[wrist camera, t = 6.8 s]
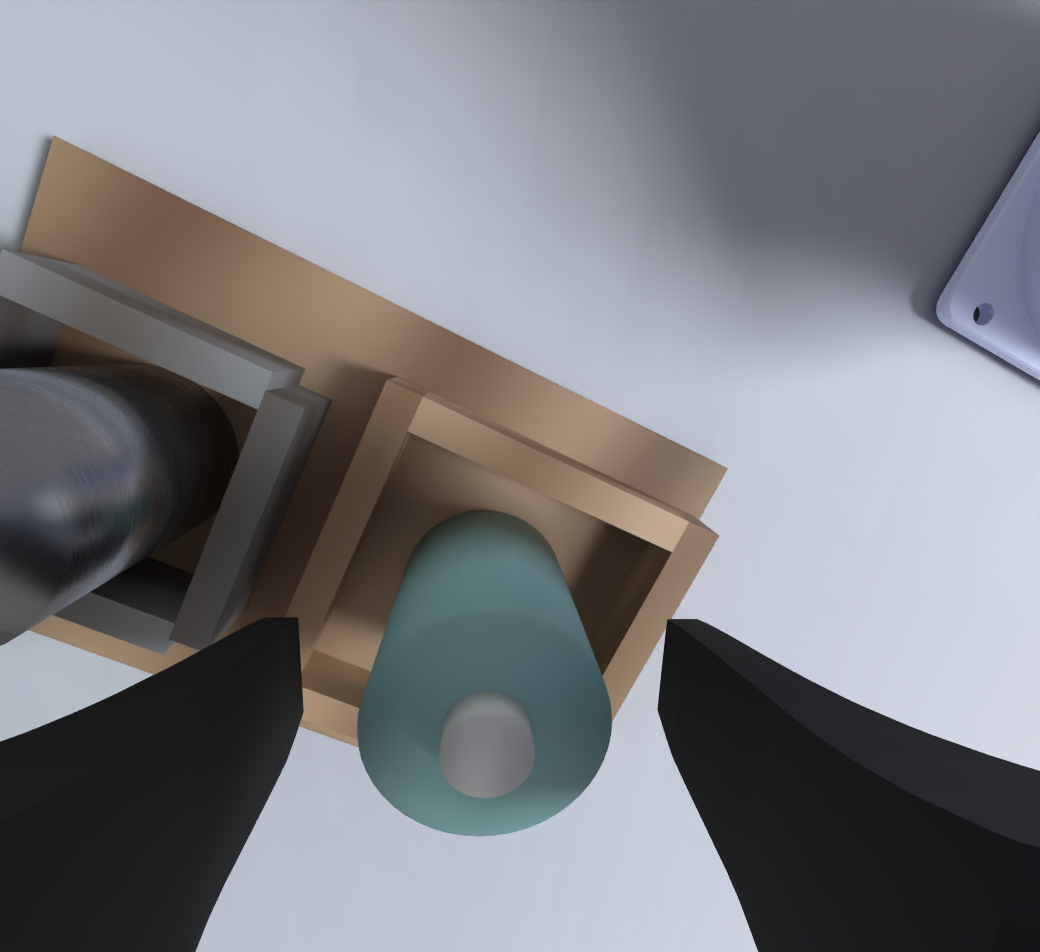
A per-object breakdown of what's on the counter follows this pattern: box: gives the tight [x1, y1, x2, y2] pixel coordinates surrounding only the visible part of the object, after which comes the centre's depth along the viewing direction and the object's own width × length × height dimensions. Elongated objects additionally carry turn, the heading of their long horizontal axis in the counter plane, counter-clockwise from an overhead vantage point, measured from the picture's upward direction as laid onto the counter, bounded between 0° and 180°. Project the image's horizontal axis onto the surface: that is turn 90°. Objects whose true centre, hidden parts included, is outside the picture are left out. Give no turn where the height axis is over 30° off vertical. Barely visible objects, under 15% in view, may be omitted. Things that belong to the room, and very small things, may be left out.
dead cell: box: [0, 364, 239, 646], centre depth 10 cm, size 4×4×6 cm
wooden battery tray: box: [0, 136, 728, 747], centre depth 13 cm, size 16×11×3 cm
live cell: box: [357, 510, 612, 836], centre depth 11 cm, size 4×4×6 cm
